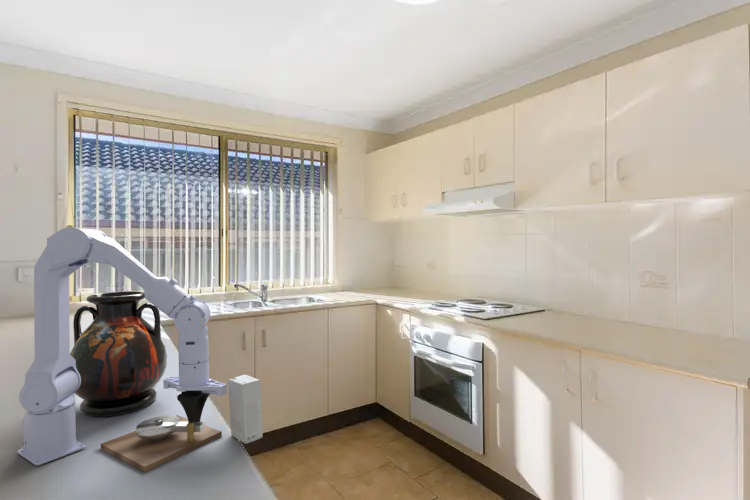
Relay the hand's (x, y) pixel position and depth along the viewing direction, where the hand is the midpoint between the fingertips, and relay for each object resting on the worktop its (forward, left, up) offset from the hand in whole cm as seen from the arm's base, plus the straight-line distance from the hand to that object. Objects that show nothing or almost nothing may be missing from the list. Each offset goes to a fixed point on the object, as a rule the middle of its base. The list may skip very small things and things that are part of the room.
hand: (195, 425), depth 86 cm
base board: (-4, -5, -3) cm, 7 cm away
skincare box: (+9, +6, -3) cm, 11 cm away
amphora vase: (-32, +1, -3) cm, 33 cm away
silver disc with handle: (-2, -4, 0) cm, 5 cm away
